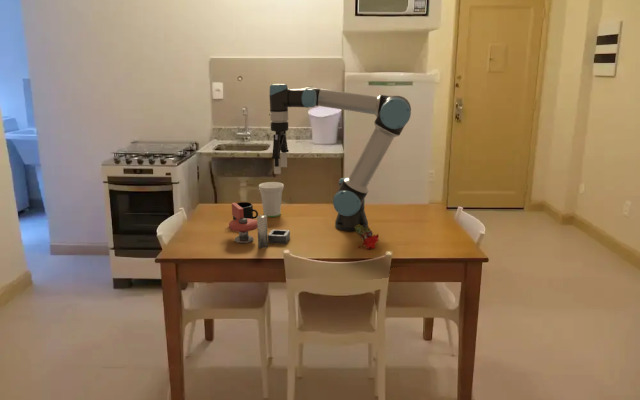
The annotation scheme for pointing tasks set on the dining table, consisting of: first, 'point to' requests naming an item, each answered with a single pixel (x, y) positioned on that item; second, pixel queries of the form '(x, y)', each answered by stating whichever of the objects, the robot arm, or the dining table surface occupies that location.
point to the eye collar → (279, 236)
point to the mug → (247, 210)
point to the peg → (262, 231)
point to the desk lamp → (241, 220)
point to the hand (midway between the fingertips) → (280, 170)
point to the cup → (271, 198)
